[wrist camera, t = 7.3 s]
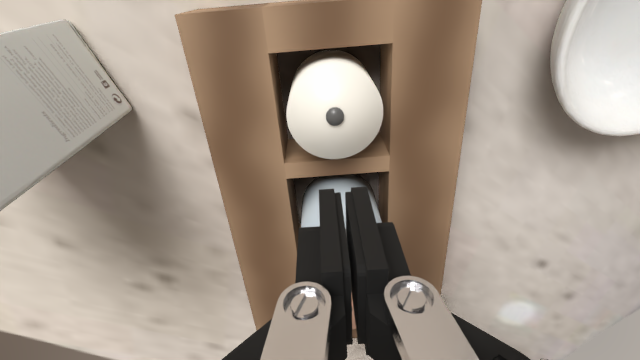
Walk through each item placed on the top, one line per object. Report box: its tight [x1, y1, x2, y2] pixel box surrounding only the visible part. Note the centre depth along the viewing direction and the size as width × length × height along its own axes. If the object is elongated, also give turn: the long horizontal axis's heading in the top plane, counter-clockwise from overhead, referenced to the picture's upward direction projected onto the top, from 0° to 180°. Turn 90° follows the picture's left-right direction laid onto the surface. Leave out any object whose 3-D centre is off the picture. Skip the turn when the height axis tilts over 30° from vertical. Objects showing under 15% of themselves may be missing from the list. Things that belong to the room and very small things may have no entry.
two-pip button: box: [301, 174, 382, 230], centre depth 21 cm, size 5×5×5 cm
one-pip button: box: [286, 50, 383, 159], centre depth 19 cm, size 5×5×5 cm
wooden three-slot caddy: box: [175, 0, 482, 338], centre depth 23 cm, size 14×24×4 cm, turn 4°
